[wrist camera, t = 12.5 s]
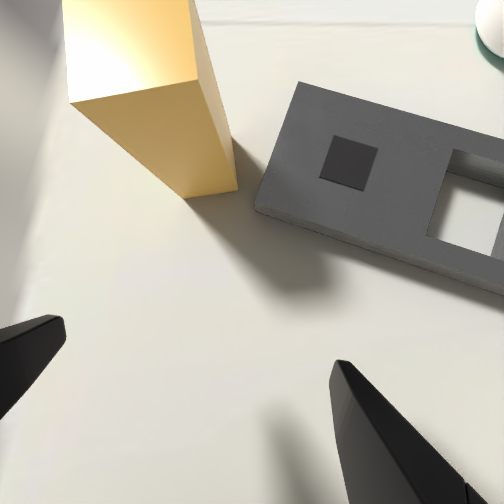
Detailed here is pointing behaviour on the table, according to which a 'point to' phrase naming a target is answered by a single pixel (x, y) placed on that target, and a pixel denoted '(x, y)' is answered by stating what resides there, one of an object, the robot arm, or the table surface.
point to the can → (491, 25)
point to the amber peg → (151, 88)
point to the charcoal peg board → (378, 180)
